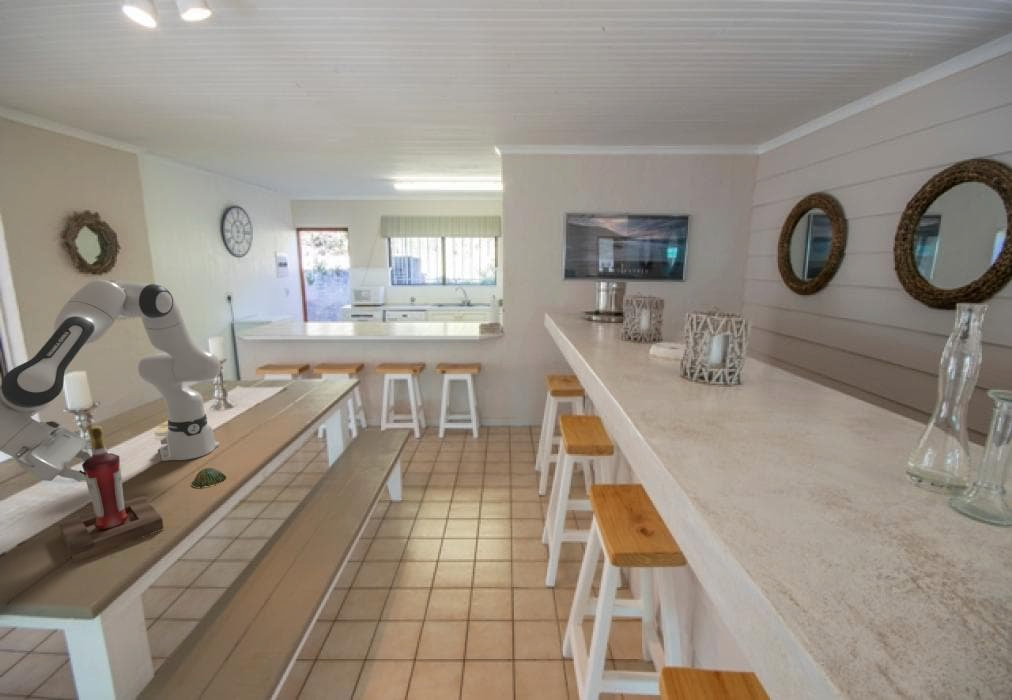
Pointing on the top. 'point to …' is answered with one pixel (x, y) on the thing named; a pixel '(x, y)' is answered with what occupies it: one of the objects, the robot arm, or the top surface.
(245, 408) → the top surface
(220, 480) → the seashell
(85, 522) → the plinth
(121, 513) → the liquor
